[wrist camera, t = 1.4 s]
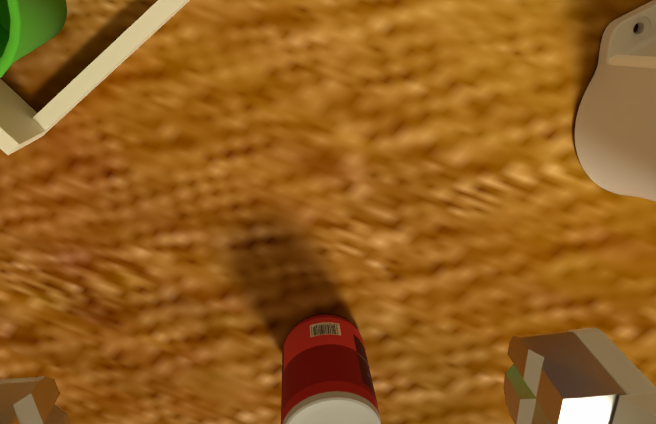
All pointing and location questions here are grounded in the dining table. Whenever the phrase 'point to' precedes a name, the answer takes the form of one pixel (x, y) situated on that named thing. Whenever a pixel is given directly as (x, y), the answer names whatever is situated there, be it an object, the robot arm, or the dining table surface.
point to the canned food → (326, 374)
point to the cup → (27, 27)
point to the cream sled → (76, 82)
